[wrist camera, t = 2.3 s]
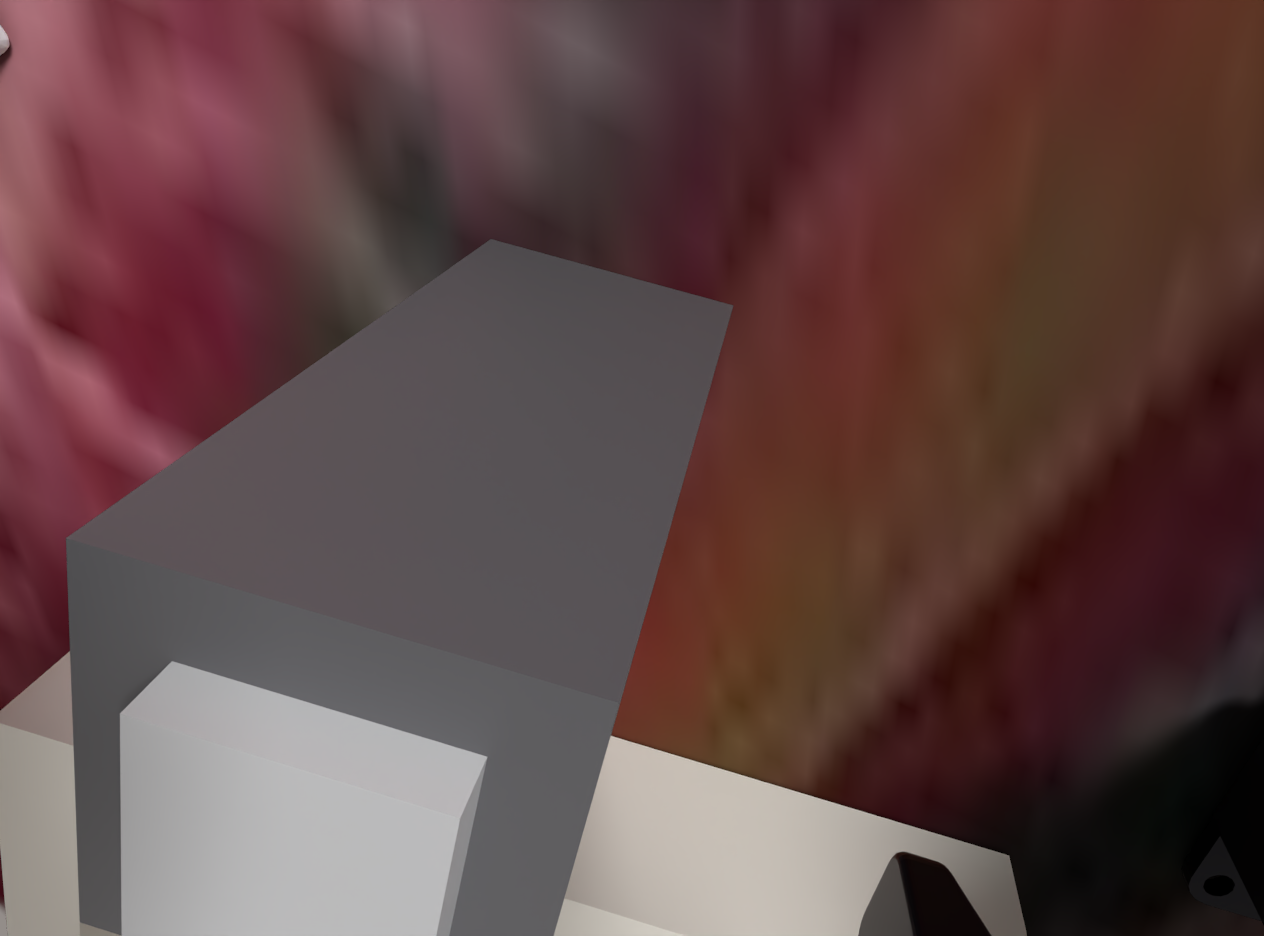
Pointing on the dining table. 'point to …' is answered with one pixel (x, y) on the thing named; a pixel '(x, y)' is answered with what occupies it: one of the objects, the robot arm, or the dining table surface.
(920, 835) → the socket block
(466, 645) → the grey rectangular block
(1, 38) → the light bulb box
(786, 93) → the dining table surface
